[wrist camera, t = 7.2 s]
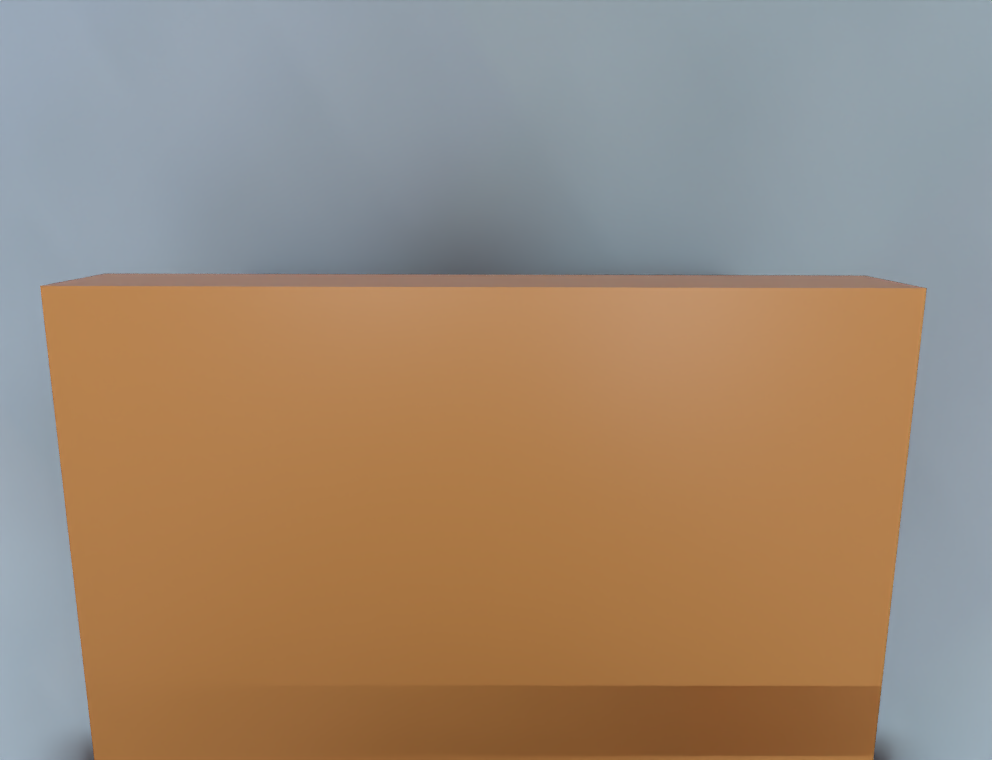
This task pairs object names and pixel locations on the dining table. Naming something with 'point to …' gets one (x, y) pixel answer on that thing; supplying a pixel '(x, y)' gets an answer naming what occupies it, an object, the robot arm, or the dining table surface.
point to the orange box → (483, 512)
